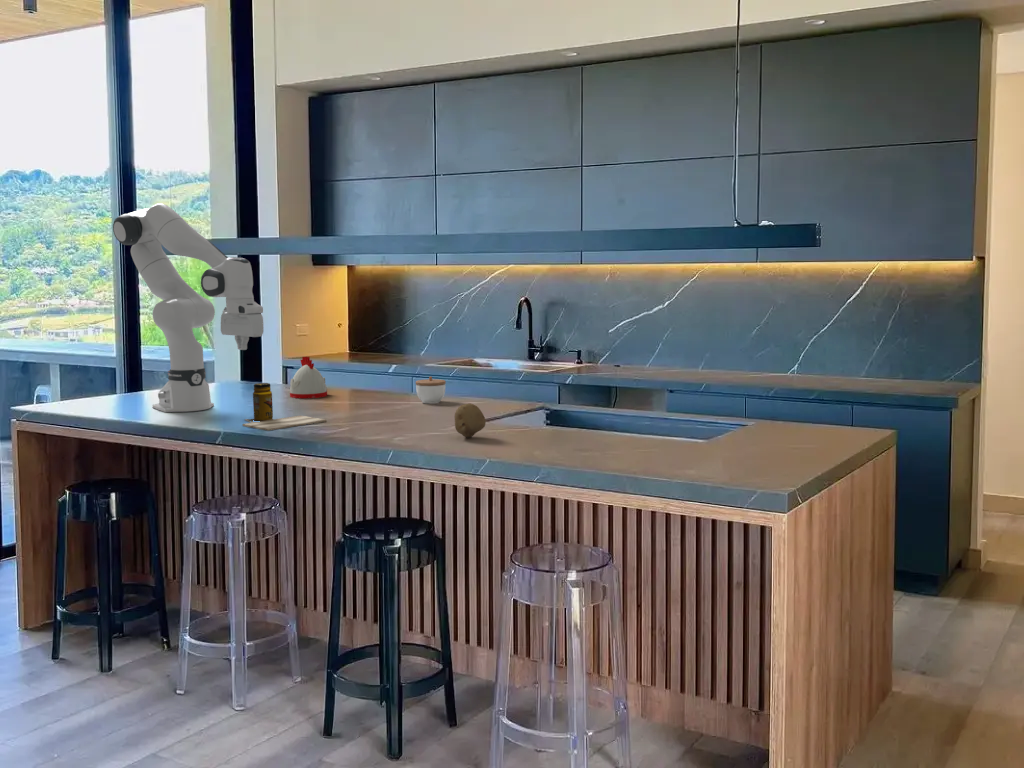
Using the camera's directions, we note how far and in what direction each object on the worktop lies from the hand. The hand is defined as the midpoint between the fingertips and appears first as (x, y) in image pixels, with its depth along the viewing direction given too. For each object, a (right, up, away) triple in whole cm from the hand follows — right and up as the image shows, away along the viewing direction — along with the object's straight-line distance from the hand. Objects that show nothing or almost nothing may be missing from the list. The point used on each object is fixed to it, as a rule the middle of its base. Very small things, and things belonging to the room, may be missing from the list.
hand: (242, 349), depth 342 cm
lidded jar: (+59, -18, +32) cm, 70 cm away
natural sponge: (+76, -27, -40) cm, 90 cm away
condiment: (+7, -23, -3) cm, 25 cm away
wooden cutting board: (+16, -24, -11) cm, 31 cm away
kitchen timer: (+11, -16, +54) cm, 57 cm away
